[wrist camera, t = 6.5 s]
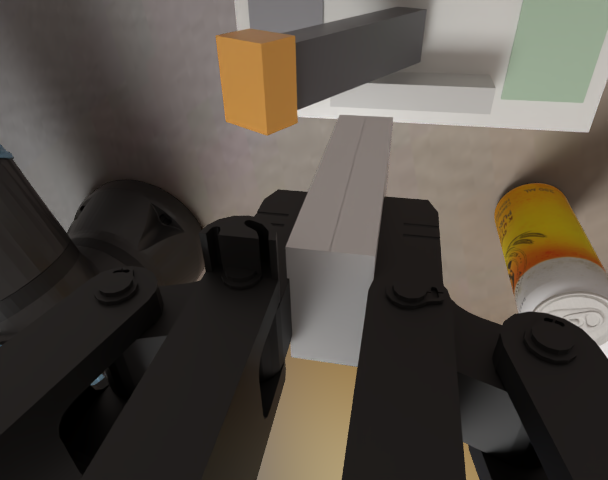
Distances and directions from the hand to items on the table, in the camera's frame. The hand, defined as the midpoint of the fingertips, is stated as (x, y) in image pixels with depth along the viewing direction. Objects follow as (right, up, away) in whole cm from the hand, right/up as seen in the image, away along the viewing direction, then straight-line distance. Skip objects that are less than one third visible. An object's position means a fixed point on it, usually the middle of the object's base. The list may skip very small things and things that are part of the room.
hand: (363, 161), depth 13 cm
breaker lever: (+5, +11, +15) cm, 20 cm away
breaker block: (+7, +15, +21) cm, 27 cm away
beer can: (+19, +1, +29) cm, 34 cm away
